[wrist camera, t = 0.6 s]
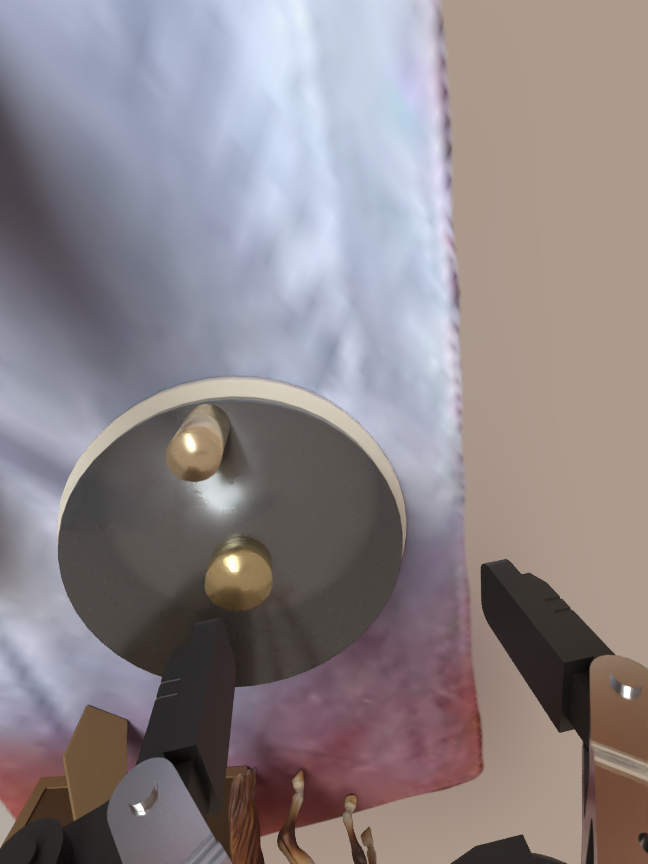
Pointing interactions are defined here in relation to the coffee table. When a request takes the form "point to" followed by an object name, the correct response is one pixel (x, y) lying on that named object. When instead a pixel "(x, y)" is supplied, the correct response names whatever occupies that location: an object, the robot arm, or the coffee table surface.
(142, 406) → the base plate
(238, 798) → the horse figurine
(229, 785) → the photo frame
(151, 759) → the robot arm
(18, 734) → the coffee table surface
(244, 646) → the handwheel
